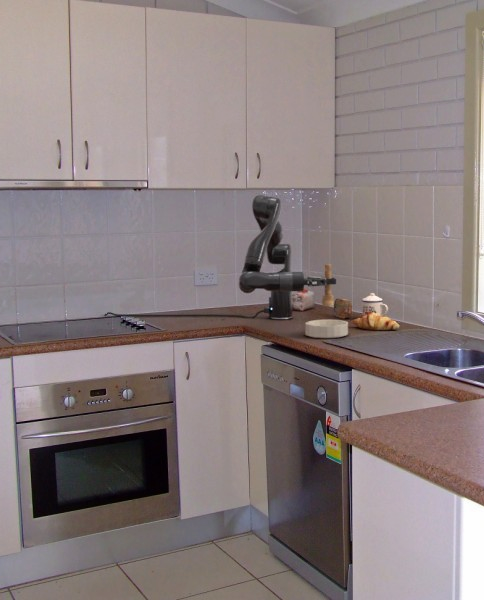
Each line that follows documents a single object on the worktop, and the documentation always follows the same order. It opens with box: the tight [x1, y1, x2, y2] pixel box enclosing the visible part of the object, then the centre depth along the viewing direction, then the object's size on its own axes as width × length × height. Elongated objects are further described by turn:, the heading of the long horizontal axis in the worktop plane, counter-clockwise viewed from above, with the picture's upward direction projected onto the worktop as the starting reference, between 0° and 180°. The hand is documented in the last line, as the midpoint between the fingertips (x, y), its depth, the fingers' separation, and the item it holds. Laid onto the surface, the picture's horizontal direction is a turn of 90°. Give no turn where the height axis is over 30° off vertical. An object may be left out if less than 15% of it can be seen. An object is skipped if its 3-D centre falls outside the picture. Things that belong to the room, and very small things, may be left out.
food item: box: [292, 288, 316, 312], centre depth 401 cm, size 14×8×10 cm, turn 158°
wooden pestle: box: [321, 263, 335, 307], centre depth 326 cm, size 4×4×16 cm
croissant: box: [351, 312, 400, 331], centre depth 343 cm, size 21×10×8 cm, turn 65°
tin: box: [333, 297, 353, 320], centre depth 374 cm, size 15×3×8 cm, turn 25°
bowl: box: [304, 319, 349, 339], centre depth 327 cm, size 17×17×5 cm
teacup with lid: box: [361, 292, 389, 317], centre depth 367 cm, size 12×9×12 cm
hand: (335, 280), depth 327 cm, fingers closed on wooden pestle, 2 cm apart
